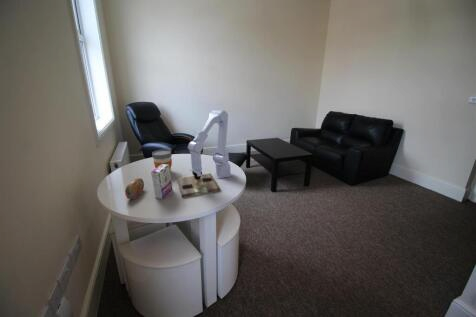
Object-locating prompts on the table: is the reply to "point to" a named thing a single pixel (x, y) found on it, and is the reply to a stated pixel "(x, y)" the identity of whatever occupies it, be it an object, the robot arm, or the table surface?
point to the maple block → (198, 183)
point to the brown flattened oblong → (134, 188)
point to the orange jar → (162, 158)
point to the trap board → (189, 187)
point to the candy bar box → (162, 181)
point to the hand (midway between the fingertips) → (197, 182)
